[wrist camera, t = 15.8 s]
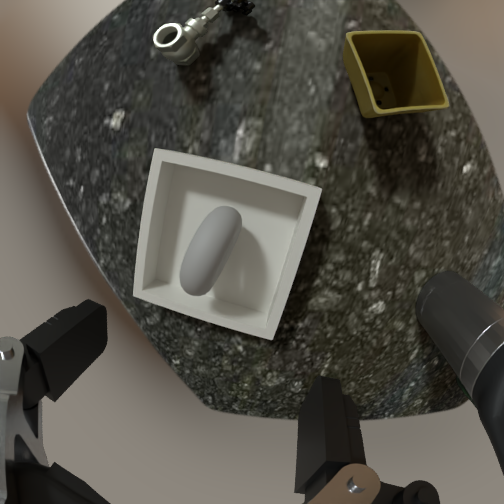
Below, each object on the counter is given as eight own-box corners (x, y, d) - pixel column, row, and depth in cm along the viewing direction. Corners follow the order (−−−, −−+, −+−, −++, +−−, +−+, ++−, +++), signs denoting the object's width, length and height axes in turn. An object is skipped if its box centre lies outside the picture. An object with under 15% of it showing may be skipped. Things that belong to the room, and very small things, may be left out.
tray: (316, 186, 31) (322, 188, 27) (274, 319, 37) (272, 340, 32) (172, 150, 32) (154, 148, 27) (149, 281, 38) (133, 295, 33)
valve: (192, 78, 29) (258, 18, 26) (172, 61, 23) (252, -9, 20) (160, 55, 29) (222, -3, 25) (137, 37, 22) (210, -28, 19)
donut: (226, 195, 32) (200, 206, 22) (253, 208, 32) (238, 224, 23) (194, 268, 35) (163, 302, 25) (219, 280, 35) (195, 319, 26)
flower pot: (393, 58, 25) (421, 30, 17) (415, 120, 27) (451, 108, 19) (331, 63, 27) (344, 31, 18) (352, 129, 29) (375, 114, 20)
